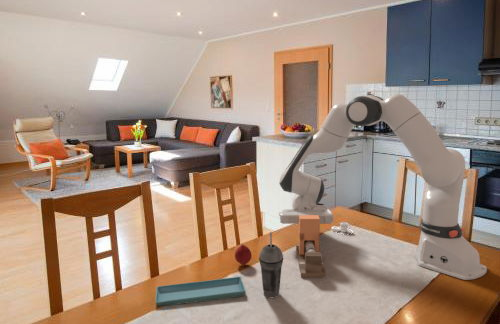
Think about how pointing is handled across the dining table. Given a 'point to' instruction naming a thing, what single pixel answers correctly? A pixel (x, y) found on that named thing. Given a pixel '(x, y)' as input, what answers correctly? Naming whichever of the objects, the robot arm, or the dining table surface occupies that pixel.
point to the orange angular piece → (309, 231)
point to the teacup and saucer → (343, 228)
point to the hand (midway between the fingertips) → (308, 223)
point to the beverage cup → (271, 268)
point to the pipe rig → (310, 261)
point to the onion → (243, 254)
